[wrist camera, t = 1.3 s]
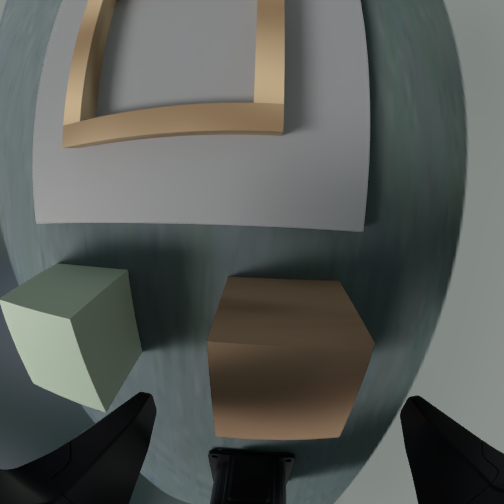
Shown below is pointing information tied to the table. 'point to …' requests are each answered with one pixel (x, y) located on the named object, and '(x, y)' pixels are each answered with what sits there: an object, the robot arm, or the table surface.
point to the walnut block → (285, 359)
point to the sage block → (75, 331)
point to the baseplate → (204, 114)
